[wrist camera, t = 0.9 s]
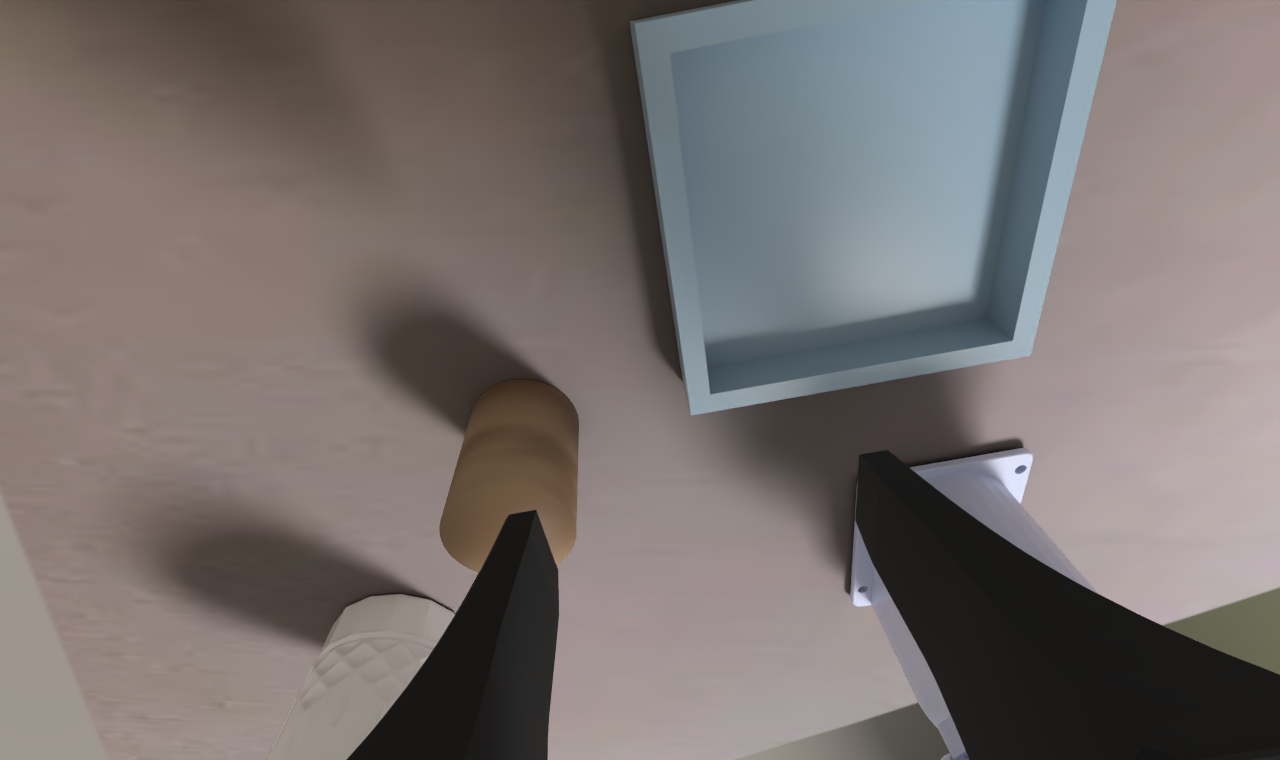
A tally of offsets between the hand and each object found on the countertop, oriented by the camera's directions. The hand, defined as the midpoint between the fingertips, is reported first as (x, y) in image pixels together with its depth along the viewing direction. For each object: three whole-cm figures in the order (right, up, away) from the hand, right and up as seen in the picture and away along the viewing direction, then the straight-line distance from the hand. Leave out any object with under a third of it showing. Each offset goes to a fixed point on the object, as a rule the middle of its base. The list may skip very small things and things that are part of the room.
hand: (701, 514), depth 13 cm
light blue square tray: (+6, +9, +7) cm, 13 cm away
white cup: (-14, -10, +18) cm, 25 cm away
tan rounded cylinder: (-6, +1, +11) cm, 13 cm away
